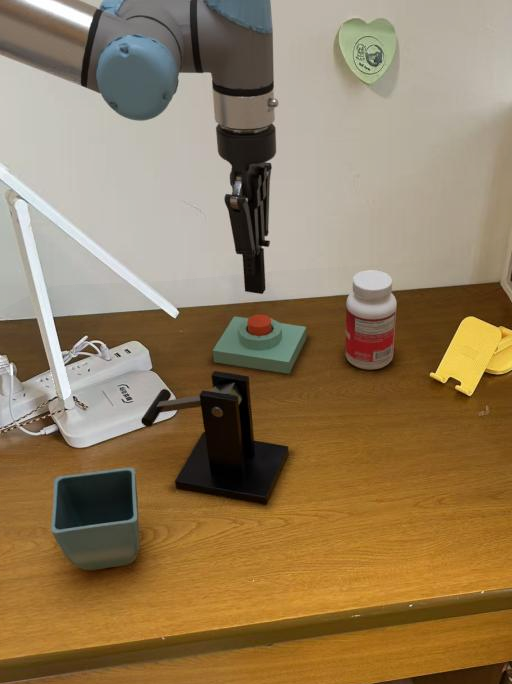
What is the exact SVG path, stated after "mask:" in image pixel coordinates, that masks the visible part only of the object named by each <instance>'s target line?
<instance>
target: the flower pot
mask: <svg viewBox="0 0 512 684" xmlns="http://www.w3.org/2000/svg"><path fill="white" fill-rule="evenodd" d="M136 475H137V474H136V469H135V468H134V467H122V468H114V469H109V470H100V471H92V472H84V473H76V474H68V475H61V476H57V477H56V478H54V480H53V495H52V497H53V498H52V512H51V525H50V532H51V534H52V535H53V537H54V539H55V541H56V543H57V545H58V547H59V548H60V550H61V552H62V553H63V555H64V557H65V558H66V559H67V561H69V562H70V563H71V564H72V565H74V566H76V567H77V568H80V569H82V570H85V571H96V570H102V569H108V568H115V567H122V566H124V567H125V566H129V565H131V564H132V563H133V562H134V561H135V560H136V559H137V557H138V555H139V551H140V546H141V544H140V543H141V542H140V523H139V501H138V488H137V487H138V486H137V476H136Z"/></svg>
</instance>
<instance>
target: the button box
mask: <svg viewBox="0 0 512 684" xmlns="http://www.w3.org/2000/svg"><path fill="white" fill-rule="evenodd" d="M249 318H250V317H242V316H233V317H232V319H231V321H230V322H229V324H228V325H227V327H226V328H225V329H224V332H223V333H222V335H221V336H220V338H219V340H218V341H217V343H216V344H215V346H214V347H213V349H212V356H213V363H216V364H223V365H229V366H235V367H241V368H242V367H243V368H248V369H255V370H262V371H268V372H274V373H280V374H281V373H282V374H288V375H290V373H291V371H292V369H293V367H294V365H295V363H296V360H297V359H298V357H299V355H300V353H301V351H302V349H303V346H304V345H305V343H306V340H307V326H304V325H295V324H289V323H283V322H279V321H277V320H275V319H274V318H271V317H269V318H270V319H271V327H272V331H271V333H269V334H267V335H263V336H255V335H251V334H249V332H248V323H247V321H248V319H249Z"/></svg>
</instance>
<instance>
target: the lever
mask: <svg viewBox="0 0 512 684" xmlns="http://www.w3.org/2000/svg"><path fill="white" fill-rule="evenodd" d="M210 392H217V393H223V394H229V395H235V396H238V404H240V402H241V400H242V396H241V394H240V392H239V390H238V388H237V386H236V384H235V383H229V384H222V385H216V386H214V388H213V387H212V390H211V391H210ZM171 397H172V393H171V391H170V390H168V389H166V388H161V390H160V391H159V393H158V394H157V396H156V397H155V398H154V400H153V401H152V403H151V404H150V405H149V407H148V409H147V410H146V411H145V413H144V415H143V416H142V417H141V419H140V422H141V424H142V425H143V426H144V427H147V428H151V427H152V426H153V425H154V423H155V422H156V421H157V419H158V417H159V416H160V414H161V413H167V412H173V411H181V410H187V409H195V408H201V402H200V395H194V396H193V395H192V396H188V397H181V398H174V399H171Z"/></svg>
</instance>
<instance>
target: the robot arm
mask: <svg viewBox="0 0 512 684" xmlns="http://www.w3.org/2000/svg"><path fill="white" fill-rule="evenodd" d="M273 30H274V29H273V16H272V2H271V0H102V1H101V3H100V5H99V8H98V7H96V6H94V5H92V4H89V3H87V2H85V1H82V0H0V56H2V57H4V58H8V59H10V60H13V61H16V62H18V63H21V64H23V65H27V66H29V67H31V68H33V69H36V70H39V71H40V72H41V71H42V72H44V73H46V74H49V75H52V76H55V77H57V78H59V79H62V80H65V81H68V82H70V83H73V84H74V85H78V86H80V87H83V88H86V89H88V90H90V91H93V92H96V93H98V94H100V96H101V97H102V98H103V100H104V102H105V103H106V104H107V105H108V106H109V107H110V108H111V110H113V111H114V112H115V113H116V114H118V115H119V116H121V117H123V118H125V119H128V120H132V121H136V122H137V121H139V122H140V121H141V122H142V121H143V122H144V121H148V120H152V119H155V118H156V117H158V116H160V115H161V114H162V113H164V111H165V110H166V109H167V108H168V106H169V104H170V103H171V102H172V100H173V97H174V95H175V94H176V93H177V91H178V87H179V82H180V81H179V75H180V74H205V73H210V76H211V86H212V87H211V89H212V101H213V114H214V121H215V123H217V125H216V127H215V133H216V146H217V153H218V155H219V157H220V158H221V159H222V160H224V161H226V162H228V163H229V164H230V166H231V170H230V173H229V184H230V186H231V188H232V189H231V190H232V192H231V194H229V193H225V195H224V204H225V206H226V208H227V212H228V217H229V222H230V228H231V233H232V238H233V244H234V251H235V254H236V255H242V267H243V268H242V270H243V283H244V292H246V293H253V294H259V295H263V294H264V293H265V291H266V269H265V268H266V265H265V249H264V248H263V247H265V248H269V247H270V244H271V240H267V239H265V238H266V237H267V236H269V233H270V232H269V224H270V223H269V222H270V221H269V220H270V191H271V189H270V188H271V175H272V169H273V166H272V163H271V162H269V161H271V160H272V159H273V158H274V157H275V156H276V154H277V132H276V131H277V130H276V129H277V128H276V126H275V125H274V122H275V120H276V114H275V113H276V112H275V108H278V107H279V99H277V98H275V81H274V73H275V72H274V31H273Z"/></svg>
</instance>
